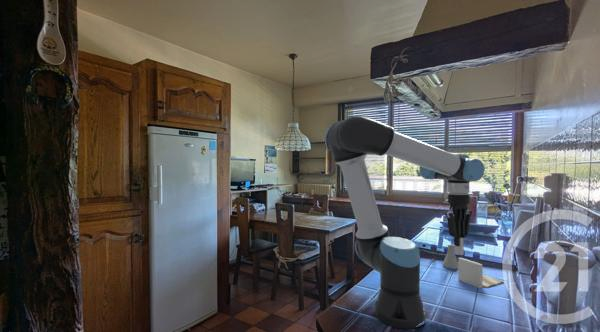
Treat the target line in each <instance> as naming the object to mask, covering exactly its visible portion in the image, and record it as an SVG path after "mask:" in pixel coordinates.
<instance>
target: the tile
mask: <svg viewBox="0 0 600 332" xmlns="http://www.w3.org/2000/svg"><path fill="white" fill-rule="evenodd" d="M457 261H458V269H457V273H458V274H457V275H458V276H457V277H458V278H457V279H458V281H460V282H463V283H466V284H468V285H471V286H473V287H476V288H478V289H481V288H483V287H482V285H483V275H484V274H483V272H484V269H483V263H482V264H481V263H480V262H476V261H472V260H469V259H467V258H464V257H458V258H457Z"/></svg>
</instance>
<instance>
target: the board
mask: <svg viewBox="0 0 600 332" xmlns="http://www.w3.org/2000/svg"><path fill="white" fill-rule="evenodd" d="M501 284H504V281H502V280H500V279H497V278H495V277H491V276H489V275H485V274H483V285H482V288H485V289H488V288H491V287H494V286H499V285H501Z"/></svg>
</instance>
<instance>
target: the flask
mask: <svg viewBox="0 0 600 332" xmlns="http://www.w3.org/2000/svg"><path fill="white" fill-rule="evenodd" d="M456 255H457V254H455V246H454V244H447V253H446V255H445V257H444V260H443V263H442V267H444V268H447V269H450V270H458V258H457V256H456Z"/></svg>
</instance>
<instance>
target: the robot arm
mask: <svg viewBox="0 0 600 332" xmlns="http://www.w3.org/2000/svg"><path fill="white" fill-rule="evenodd" d="M324 144H325V148H326V149H327V150H328V151H329V152H330V153H331V154H332V157H333V160H334V163H335V164H336V165H338V166H339V167H340V170H341V173H342V177H343V180H344V184H345V187H346V191H347V194H348V197H349V202H350V204H351V205H350V206H351V208H352V212H353V216H354V219H355V222H356V226H357V230H356V232H355V237H356V240H355V243H354V249H355V253H356V255H357V257H358V258H359V259H360V261H362V262H363V263H364V264H366V265H367V266H369V267H370V268H371V269H373V270H375V271H376V272H378V273H379V274H380V276H379V278H380V283H379V285H380V286H379V287H380V289H379V291H378V295H377V299H376V301H375V304H374V315H375V317H376V318H377V319H378V320H379V321H380V322H381V323H383V324H385V325H387V326H389V327H393V328H396V329H403V330H404V329H405V330H414V329H417V328H416V326H417V325H418V324H420V323H422V322H423V321H425V320H427V318H426V317H427V315H426V310H425V308H424V305H423V301H422V297H421V293H420V290H421V289H420V282H421V278H420V277H421V272H420V271H421V257H420V256H421V255H420V254H421V253H420V249H419V246H418V245H417V244H416V243H415V242H413V241H412V240H410V239H408V238H402V237H399V236H391V235H390V232H389V229H388V226H387V225H385V224H383V223H382V219H381V215H380V211H379V208H378V205H377V204H378V203H377V200H376V197H375V194H374V191H373V187H372V182H371V179H370V175H369V171H368V168H367V164H366V161H365V160H366V158H367V155H368V154H373V155H376V156H380V157H382V156H385V155H387V156H390V157H392V158H395V159H398V160H401V161H403V162H407V163H410V164H412V165H415V166H418V167H419V174H420V176H421V177H422V179H424V180H430V181H431V180H432V181H433V180H443V181H445V180H446V181H447V193H448V194H447V202H448V204H449V207H448V208H449V210H448V212H447V211H445V212H444V215H445V217H446V221H447V228H448V232H449V236H450V237H453V245H454V246H455V248H454V251H455V255H458V256H463V255H464V253H465V252H464V250H465V249H464V245H465V239H466V238H468V235H469V230H470V223H471V218H472V213H473V211H472V210H470V209H468V208H469V206H468V205H470V203H471V201H470V199H471V198H470V194H469V193H471V192H470V182H478V181H480V180H481V179H482V178H483V177H484V174H485V165H484V163H483V162H482V161H481V160H480V159H478V158H472V157H469V155H468V154H467V153H457V154H455V153H451V152H449V151H446V150H443V149H441V148H439V147H436V146H433V145H430V144H428V143H426V142H423V141H420V140H417V139H415V138H412V137H410V136H408V135H404V134H402V133H400V132H397V131H395V129H394V127H392V126H390V125H387V124H385V123H382V122H381V121H377V120H374V119H371V118H369V117H364V116H356V115H355V116H350V117H348V118H345V119H343V120H339V121H337V122H334V123H333V124H332V125H330V126H329V127H328V129H327V130H326V132H325V134H324Z"/></svg>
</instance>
